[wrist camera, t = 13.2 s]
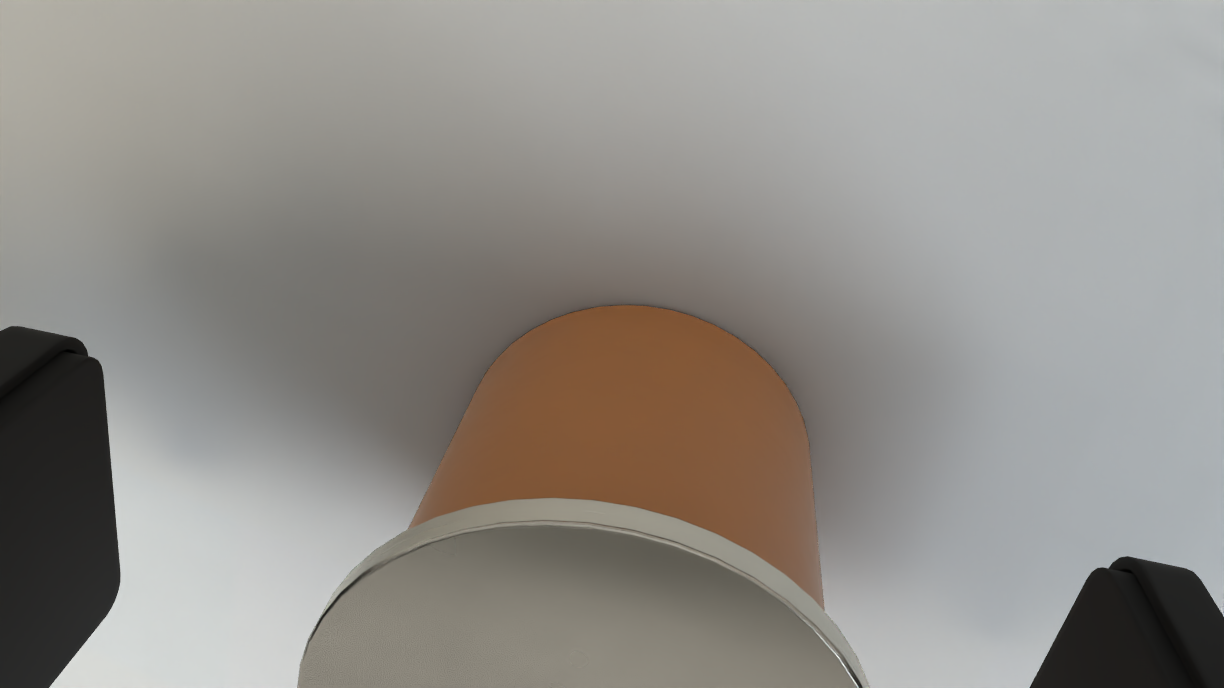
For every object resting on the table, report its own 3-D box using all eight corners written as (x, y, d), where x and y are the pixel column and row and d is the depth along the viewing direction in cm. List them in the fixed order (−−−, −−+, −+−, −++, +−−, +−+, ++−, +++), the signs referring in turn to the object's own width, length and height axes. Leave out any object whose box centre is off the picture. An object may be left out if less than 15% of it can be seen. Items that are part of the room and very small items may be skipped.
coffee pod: (892, 326, 10) (970, 606, 6) (780, 644, 12) (792, 988, 8) (459, 235, 10) (300, 461, 6) (425, 566, 12) (290, 870, 8)
